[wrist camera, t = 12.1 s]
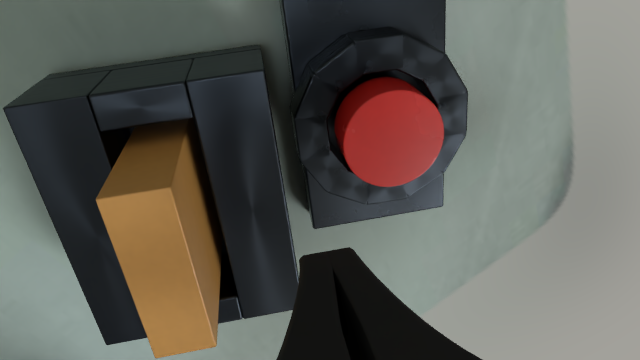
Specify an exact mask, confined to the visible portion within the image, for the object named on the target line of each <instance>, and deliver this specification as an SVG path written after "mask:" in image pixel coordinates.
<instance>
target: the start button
mask: <svg viewBox="0 0 640 360" xmlns="http://www.w3.org/2000/svg"><path fill="white" fill-rule="evenodd" d="M334 131H335V137H336V140H337V143H338V145H339V147H340V150H341V152H342V154H343V156H344V158H345V160H346V162H347V164H348V166H349V168H350V169H351V170H352V172H353V173H354V174H355V175H356V176H357V177H359V178H360V179H362V180H363V181H365V182H367V183H369V184H372V185H376V186H382V187H392V186H398V185H403V184H405V183H408V182H410V181H412V180H414V179H416V178H418V177H419V176H421V175H422V174H423V173H424V172H426V171H427V170H428V169H429V168H430V166H431V165H432V164H433V163H434V161H435V160H436V158H437V156H438V154H439V152H440V150H441V147H442V144H443V139H444V125H443V120H442V117H441V115H440V113H439V111H438V109H437V108H436V106H435V105H434V104H433V103H432V102H431V101H430V100H429V99H428V98H427V97H426V96H425V95H423V94H422V93H421V92H420V91H419V90H418V89H416V88H415V87H414V86H413V85H411V84H410V83H408V82H406V81H404V80H402V79H399V78H395V77H378V78H373V79H370V80H367V81H365V82H363V83H361V84H359V85H358V86H356V87H355V88H354V89H353V90H351V91H350V92H349V93H348V94H347V96H346V97H345V98H344V99H343V101H342V102H341V104H340V106H339V108H338V111H337V113H336V117H335V124H334Z"/></svg>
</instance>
